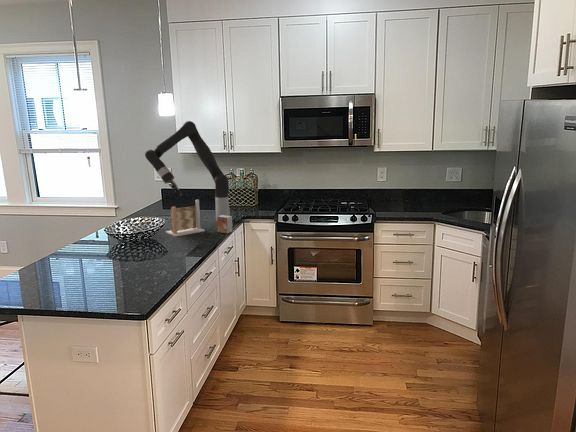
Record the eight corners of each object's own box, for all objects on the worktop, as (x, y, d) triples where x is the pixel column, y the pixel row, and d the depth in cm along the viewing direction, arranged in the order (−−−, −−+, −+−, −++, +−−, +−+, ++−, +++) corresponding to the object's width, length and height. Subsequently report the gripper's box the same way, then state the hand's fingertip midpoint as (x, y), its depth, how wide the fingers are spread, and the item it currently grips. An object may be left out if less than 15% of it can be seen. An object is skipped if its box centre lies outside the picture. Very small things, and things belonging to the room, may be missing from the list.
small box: (217, 232, 292) (216, 216, 290) (222, 230, 297) (221, 214, 295) (227, 233, 289) (227, 217, 286) (232, 231, 293) (232, 215, 291)
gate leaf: (195, 227, 297) (194, 205, 294) (196, 228, 296) (195, 206, 293) (171, 231, 286) (170, 209, 283) (172, 232, 285) (171, 209, 282)
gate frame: (194, 227, 304) (193, 198, 300) (204, 231, 295) (203, 200, 291) (165, 232, 291) (164, 202, 287) (175, 236, 281) (173, 204, 277)
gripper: (167, 169, 298) (182, 190, 297) (173, 173, 311) (187, 193, 310) (158, 176, 298) (173, 197, 297) (164, 179, 311) (178, 199, 310)
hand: (180, 195), depth 303 cm, fingers closed
